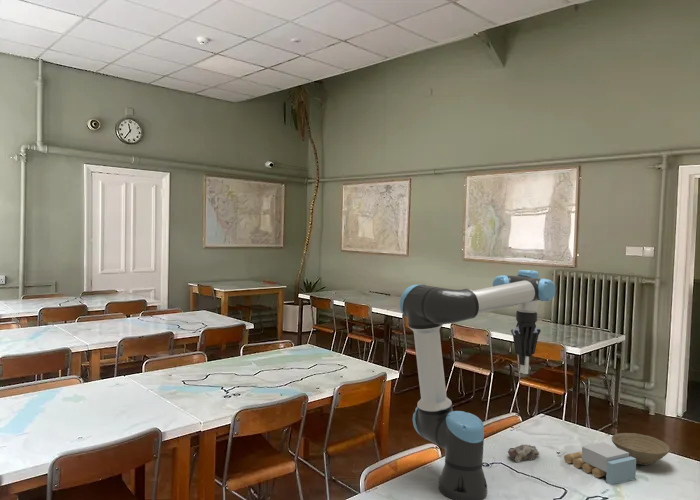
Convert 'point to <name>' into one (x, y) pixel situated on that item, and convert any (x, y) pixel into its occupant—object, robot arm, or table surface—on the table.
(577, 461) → the roller bed
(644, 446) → the bowl
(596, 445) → the slab
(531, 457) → the mineral rock
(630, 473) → the fence
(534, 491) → the table surface
